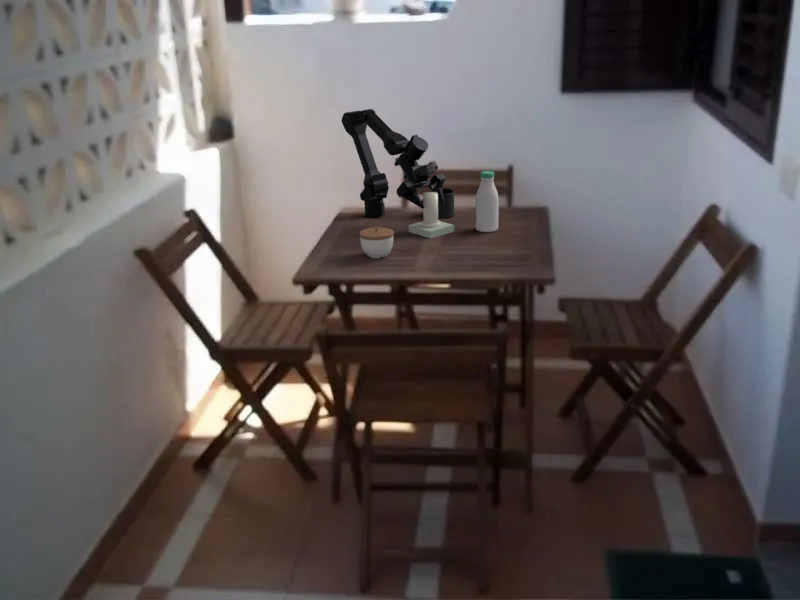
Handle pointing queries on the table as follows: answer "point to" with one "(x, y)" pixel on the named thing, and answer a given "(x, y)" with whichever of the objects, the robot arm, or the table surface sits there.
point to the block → (431, 229)
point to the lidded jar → (376, 241)
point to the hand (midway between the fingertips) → (433, 205)
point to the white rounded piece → (430, 210)
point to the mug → (446, 204)
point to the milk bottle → (487, 204)
